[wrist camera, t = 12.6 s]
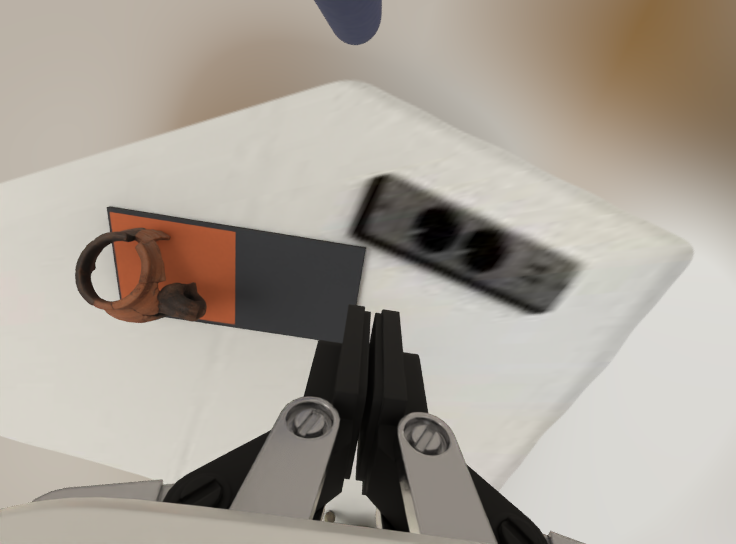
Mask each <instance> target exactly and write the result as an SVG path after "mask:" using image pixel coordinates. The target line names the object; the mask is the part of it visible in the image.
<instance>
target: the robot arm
mask: <svg viewBox="0 0 736 544" xmlns="http://www.w3.org/2000/svg"><path fill="white" fill-rule="evenodd" d="M370 317H371V312H368V311H365V307H364V306H357V305H351V304H349V306H348V312H347V318H346V324H345V331H344V337H343V343H337V342H331V341H324V340H319V341H318V344H317V348H316V352H315V356H314V359H313V363H312V367H311V371H310V374H309V378H308V382H307V386H306V390H305V393H304V397H301V398H298V399H295V400H293V401H291V402H290V403H288V404H287V405H286V406H285V407H284V409H283V410H282V411H281V413H280V415H279V417H278V419H277V420H276V422H275V424H274V426H273V428H272V430H270V431H268V432H266V433H265V434H263V435H261V436H259V437H257V438H255V439H253V440H251V441H249V442H248V443H246V444H244V445H242V446H240V447H238V448H236V449H234V450H232V451H230V452H229V453H227V454H225V455H223V456H221V457H219V458H217V459H215V460H213V461H212V462H210V463H208V464H206V465H204V466H202V467H200V468H198V469H196V470H194V471H193V472H191V473H189V474H187V475H186V476H184V477H183V478H181V479H180V480H178V481H177V482H176V483H175V484H166V485H163V480H151V481H140V482H129V483H118V484H105V485H93V486H82V487H70V488H63V489H59V490H55V491H51V492H49V493H47V494H44V495H42V496H40V497H38V498H36V499H35V500H33V501H32V502H30V503H26V504H21V505H16V506H12V507H7V508H3V509H0V544H585V543H582V542H579V541H576V540H574V539H571V538H568V537H565V536H563V535H560V534H557V533H555V532H552V531H550V533H549V534H548V535H545V534H542V532H541V531H540V529H539V528H538V527H537V526H536V525H535V524H534V523H533V522H532V521H531V520H530V519H529V518H528V517H527V516H526V515H524V514H523V513H522V512H521V511H520V510H519V509H518V508H516V507H515V506H514V505H513V504H512V503H510V502H509V501H508V500H507V499H506V498H505V497H504V496H502V495H501V494H500V493H499V492H498V491H497V490H496V489H494V488H493V487H492V486H491V485H490V484H489V483H487V482H486V481H485V480H484V479H483V478H482V477H480V476H479V475H478V474H477V473H476V472H475V471H474V470H472V469H471V468H470V467H469V466H468V465H467V464H466V463H465V460H464V458H463V455H462V453H461V450H460V448H459V445H458V442H457V440H456V437H455V435H454V433H453V432H452V430H451V428H450V427H449V426H448V425H447V424H446V423H445V422H444V421H443V420H441V419H439V418H438V417H436V416H434V415H431V414H429V413H428V409H427V402H426V396H425V390H424V383H423V377H422V371H421V364H420V358H419V355H418V354H411V353H404V352H403V346H402V336H401V325H400V315H399V312H396V311H390V310H382V313H375V317H374V322H373V328H372V333H371V338H370ZM369 339H370V343H369ZM357 441H358V449H357V464H356V480H359V481H363V483H362V495H366V496H367V497H368V498H369V499H370V500H371V502H372V503H373V504H374V505H375V506H376V517H375V519H376V526H377V528H370V527H363V526H355V525H347V524H339V523H332V522H324V521H322V519H323V515H324V512H325V506H326V504H327V503H328V502H329V501H331V500H332V499H333V498H334V497H336V496H337V495H338V494H340V493H341V492H342V487H343V482H344V479H350V475H351V470H352V466H353V461H354V456H355V451H356V446H357Z"/></svg>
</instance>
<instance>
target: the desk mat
mask: <svg viewBox="0 0 736 544" xmlns="http://www.w3.org/2000/svg"><path fill="white" fill-rule="evenodd" d="M107 212H108V219H109V226H110V232H117V231H118V232H120V231H123V230H127V229H133V228H145V229H150V230H151V229H154V230H157V231H162V232H164V233H166V234H168V235H169V236H170V237H171V238H170V240H159V241H156V243H157V245H158V246H159V248H160V251H161V256H162V259H163V262H164V269H165V276H166V281H163V282H159V283H158V288H159V290H160V291H161V289H162V288H163V287H164V286H166V285H168V284H172V283H181V284H190V283H192V282H195V283H196V286H197V292H198V293H199V295H200V296H201V297H202V298H203V299H204V300H205V302H206V305H207V309H206V313H205V315H204V316H203V317H201V318H200V319H198V320H197V321H195V322H202V323H208V324H215V325H222V326H228V327H235V328H242V329H248V330H255V331H262V332H269V333H275V334H282V335H289V336H295V337H302V338H309V339H315V340H324V341H331V342H337V343H343V337H344V331H345V324H346V318H347V312H348V306H349V304H351V305H356V303H357V297H358V291H359V285H360V279H361V273H362V267H363V261H364V255H365V249H366V248H365V247H359V246H353V245H347V244H340V243H334V242H328V241H322V240H315V239H309V238H303V237H297V236H290V235H284V234H278V233H272V232H265V231H259V230H253V229H247V228H240V227H234V226H228V225H222V224H215V223H209V222H203V221H197V220H190V219H184V218H178V217H171V216H165V215H159V214H153V213H146V212H140V211H134V210H128V209H121V208H115V207H107ZM137 244H138V242H137V241H132V242H124V241H116V242H113V243H112V247H113V254H114V261H115V268H116V275H117V282H118V288H119V295H120V300H121V299H123V298H125V297H126V296H127V295H129V294H130V293H131V292H132V291H133V290H134V288H135V287H136V285H137V284H138V283H139V278H140V274H141V260H140V257H139V255H138V253H137V251H136V249H135V246H136V245H137ZM166 317H168V318H175V319H181V320H186V319H182V318H178V317H172V316H166ZM188 321H189V320H188Z"/></svg>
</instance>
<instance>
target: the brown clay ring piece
mask: <svg viewBox="0 0 736 544" xmlns="http://www.w3.org/2000/svg"><path fill="white" fill-rule="evenodd" d="M170 238H171V237H170V236H169V235H168V234H166V233H164V232H162V231H157V230H154V229H151V230H150V229H145V228H133V229H127V230H123V231H120V232H118V231H117V232H109V233H105V234H102V235H100V236H99V237H97V238H95V240H94V241H91V242H90V243H89V244H88V245H87V246H86V248H85V249H84V250H83V251H82V253H81V255H80V257H79V259H78V261H77V265H76V269H75V270H76V273H75V279H76V285H77V288H78V291H79V293H80V294H81V296H82V297H83V298H84V299H85V300H86V301H87V302H88V303H89V304H91V305H94V306H95V307H97V308H100V309H104V310H105V311H106V312H107V313H108V314H109V315H111V316H112V317H114V318H116V319H119V320H123V321H126V322H135V323H144V322H148V321H153V320H157V319H160V318H163V317H166V316H172V317H178V318H182V319H186V320H189V321H197V320H198V319H200V318H201V317H203V316H204V315H205V313H206V309H207V305H206V302H205V300H204V299H203V298H202V297H201V296H200V295H199V293H198V292H197V286H196V283H195V282H192V283H190V284H181V283H172V284H168V285H166V286H164V287H163V288H162V289H161V291H160V290H159V288H158V283H159V282H163V281H166V276H165V269H164V262H163V259H162V256H161V251H160V248H159V246H158V245H157V243H156V241H159V240H170ZM116 241H124V242H132V241H137V242H138V244H137V245H136V246H135V249H136V251H137V253H138V255H139V257H140V260H141V274H140V278H139V283H138V284H137V285H136V287H135V288H134V290H133V291H132V292H131V293H130V294H129V295H127V296H126V297H125V298H123V299H121V300H118V301H114V302H110V301H106V300H104V299H101V298H100V297H99V296H98V295H97V294H96V292H95V290H94V288H93V285H92V282H91V273H92V271H94V270H95V268H96V267H95V262H96V259H97V257H98V255H99V254H100V252H101V251H102V250H103V248H104V247H106V246H107V245H109V244H110V243H113V242H116Z"/></svg>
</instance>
